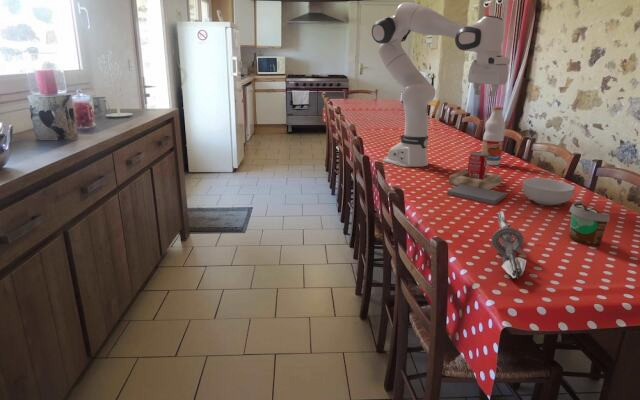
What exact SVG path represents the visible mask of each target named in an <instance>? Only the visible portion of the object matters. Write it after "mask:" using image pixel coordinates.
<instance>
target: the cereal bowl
mask: <svg viewBox="0 0 640 400" xmlns="http://www.w3.org/2000/svg"><path fill="white" fill-rule="evenodd" d="M522 192H523V193H524V194H525V195H524V196H526V197H527V198H529V199H530V200H532V201H533V202H534V203H536V204H538V205H543V206H557V205H560V204H564V203H567V202H568V201H569V200H571V198H572V197H573V195H574V192H575V186H574V185H572V184H570V183H568V182H564V181H561V180H556V179H552V178H543V177H541V178H540V177H531V178H526V179H523V182H522Z"/></svg>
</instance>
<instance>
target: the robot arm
mask: <svg viewBox="0 0 640 400" xmlns="http://www.w3.org/2000/svg"><path fill="white" fill-rule="evenodd" d="M412 32H413V33H415V34H420V35H424V36H443V37H449V38H452V39H454V41H455V45H456V48H457V49H459V50H460V51H464V52H472V53H477V54H476V55H477V56H476V59H474V60H473V61H472V62H471V65H470V67H469V71H468V75H467V81H468V83H470V84H473V89H474V95H475V96H480V95H481V89H480V85H481V84H483V85H484V84H485V85H491V88H492V89H491V90H490V91H489V95H488V96H490V97H495V96H496V93H497V91H498V90H499V86H500V85H506V84H507V82H508V78H509V66H508V65H509V64H510V61H511V60H510V58H509V57H507V56H505V55H503V54H502V50H503V49H502V45H503V40H504V34H505V33H504V32H505V22H504V20H503V18H502V17H501V16H497V15H496V16H495V15H484V16H482V17H481V18H480V19H478V20H477V21H476V22H475V21H474V23H471V24H468V25H465V24H462V23H460V22H456V21H453V20H452V19H449V18H447V17H446V16H444V15H443V14H441V13H439V12H438V11H436V10H433V9H432V8H430V7H428V6H426V5H423V4H420V3H416V2H410V1H404V2H402V3H400V4H399V5H398V6H397V7H396V9H395V13H394V14H392V15H391V14H390V15H389V16H388V15H387V16H386V17H383V18H381V19H378V20H376V21H375V22H374V23H373V24H372V28H371V36H372V38H373V40H374V41H375V42H376V43H377V44H379V46H378V53H379V56H380V58H381V59H380V60H381V61H382V62H383V65H384V66H385V68H386V69H387V71H388V72H389V74H390V75H391V77H392V78H393V80H394V81H395V83H397V84H398V85H400V87H401V88H402V89H403V90H402V92H401V97H400V98H401V101H402V103H403V109H404V119H405V120H404V121H405V122H404V134H403V135H400V136H399V138H398V139H400V141H399V142H398V143H396V144H395V145H394V146H392V147H391V148H390V149H389V150H388V154H387V156H386V157H384V158H383V159H382V161H383V162H384V163H387V164H392V165H396V166H400V167H404V168H406V167H407V168H408V167H413V168H414V167H415V168H419V167H421V168H422V167H425V166H428V165H429V162H428V161H429V159H428V150H427V149H428V144H429V135H428V134H429V133H428V132H429V122H430V121H429V117H428V109H427V107H428V105H429V104H431V102H433V100H434V98H435V97H436V89H435V86H434V85H432V83H430V81H428V79H427V78H426V77H425V76H424V75H423V74H422V73H421V72H420V71H419V70H418V68H417V67H416V65H415V64H414V63H413V62H412V60H411V58H410V57H409V56H408V54H407V53H406V51H405V49H404V48H403V47H402V43H403V42H405V41H406V40H407V38H408V36H409V34H410V33H412Z"/></svg>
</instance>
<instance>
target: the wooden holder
mask: <svg viewBox="0 0 640 400" xmlns="http://www.w3.org/2000/svg"><path fill="white" fill-rule="evenodd" d="M467 171H468V168H464V169H462V170H460V171H457V172H455V173H453V174H450V175H449V176H448V177H449V179H448V184H449V185H453V186H455V187H456V186H458V185H460V184H462V185H467V186H472V187H477V188H482V189H487V190H492V189H494V188H496V187H497V186H499V185H501V183H502V180H503V179H502V178H503V175H502V174H497V173H491V172H486V173H485V179H483V180H481V179H476V178H470V177H467Z"/></svg>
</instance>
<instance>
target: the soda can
mask: <svg viewBox="0 0 640 400" xmlns="http://www.w3.org/2000/svg"><path fill="white" fill-rule="evenodd" d="M486 155H487V154H486V153H483V152H481V151H472V152H470V155H469V156H468V163H467V164H468V165H467V169H468V171H467V177H470V178H476V179H481V180H483V179H485V173H487V172H486V171H487V166H488V165H487V156H486Z"/></svg>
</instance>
